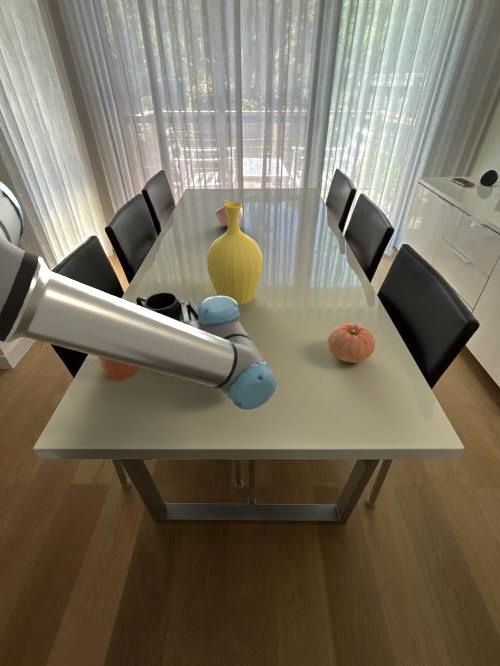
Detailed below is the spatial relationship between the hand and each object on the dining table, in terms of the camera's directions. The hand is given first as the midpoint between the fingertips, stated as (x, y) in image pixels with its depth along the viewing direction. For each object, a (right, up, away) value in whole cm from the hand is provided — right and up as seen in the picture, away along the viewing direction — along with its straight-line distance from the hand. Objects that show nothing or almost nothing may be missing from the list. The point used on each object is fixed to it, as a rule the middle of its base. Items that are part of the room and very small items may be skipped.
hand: (152, 302), depth 90 cm
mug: (+3, -7, +1) cm, 8 cm away
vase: (+22, +3, +15) cm, 26 cm away
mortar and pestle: (+17, +40, +64) cm, 78 cm away
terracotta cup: (-4, -16, -11) cm, 20 cm away
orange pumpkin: (+50, -14, -7) cm, 52 cm away
